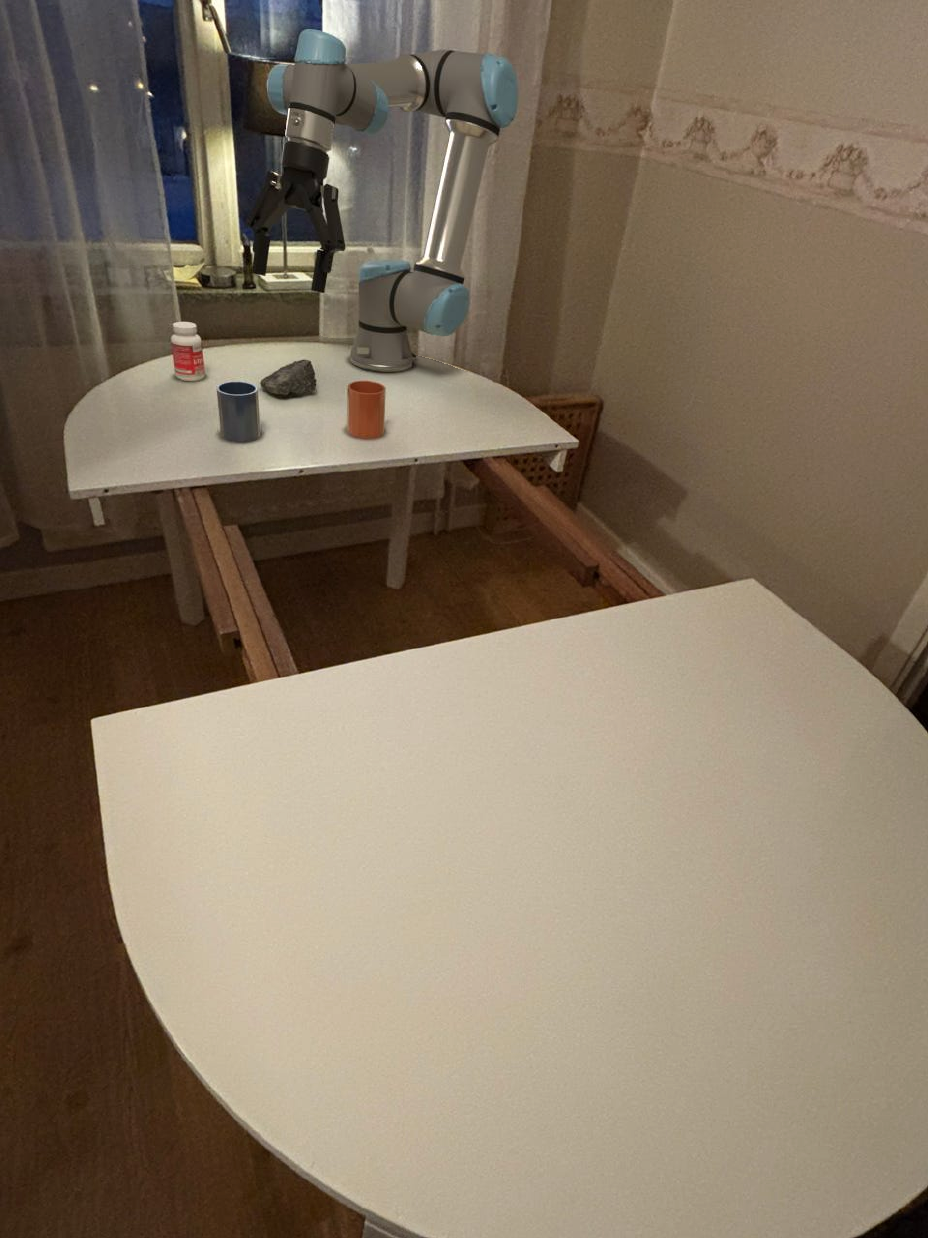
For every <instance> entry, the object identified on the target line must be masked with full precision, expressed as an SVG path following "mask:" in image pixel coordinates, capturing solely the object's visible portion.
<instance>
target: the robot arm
mask: <svg viewBox="0 0 928 1238" xmlns="http://www.w3.org/2000/svg"><path fill="white" fill-rule="evenodd" d="M295 50H296V51H295V56H294V59H293V60H294V63H293V64H292V63H287V64H283V63H282V64H280V63H279V64H276V65H274V66H273V68H271V70H270V71H269V73H268V77H267V80H266V88H267V90H266V92H267V97H268V100H269V103H270V104H271V106H272V109H274V110H275V111H276V112H278V113H279V114H282V115H286V116H287V118H286V119H287V120H286V126H285V127H286V129H285V138H287V140H286V141H284V143H283V145H282V146H283V148H282V153H281V162H280V163H281V166H282V169H283V170H282V174H279V173H276V172H274V171H272V170H268V171H266V175H265V179H264V184H263V186H262V188H261V190H260V192H259V194H258V196H257V198H256V200H255V202H254V204H253V206H252V207H251V210H250V212H249V214H248V215H247V218H246V220H245V225H246V227H249V228H250V229H251V230H252V231H253V240H252V248H251V250H252V252H253V259H252V268H251V274H253V275H257V276H262V277H266V274H267V267H268V261H269V252H270V244H271V239H272V238H271V236H270V234H269V232H270V231H271V230H272V228H274V226H275V225H276V224H277V223H278V222H279V221H280V220H281V218H282V217H283V216H284V215H285V214H286V213H287V212H288V210H291V209H292V208H293V209H298V210H303V211H306V213H307V214H308V216H309V218H310V221H311V224H312V225H313V228H314V231H315V234H316V236H317V239H318V241H319V245H320V247H319V249H318V248H317V249H316V256H315V263H314V268H313V275H312V280H311V288H310V291H313V292H317V293H321V294H325V292H326V286H327V279H328V274H330V273H331V271H332V269H333V268H332V267H333V263H334V262H333V261H334V256H335V254H336V253H337V252H345V250H346V249H347V248H346V241H345V236H344V230H343V225H342V219H341V214H340V207H339V195H340V194H339V191H340V190H339V188H338V187H337V186H334V185H331V184H329V183H325V184H324V180H326V179H327V176H328V170H329V164H330V156H329V154H328V152H330V151H331V150H332V146H333V139H334V131H335V125H340V126H346V127H350V128H353V129H354V130H355V131H356V132H358V133H362V134H365V135H370V136H371V135H375V134H378V132H380V131H381V130H382V129H383V128H384V126H385V124H386V123H387V120H388V116H389V109H395V108H396V109H397V108H398V109H399V110H401V111H402V112H406V113H413V112H418V113H424V114H426V115H427V114H428V115H432V116H436V117H440V118H445V119H444V125H445V127H446V130H447V132H448V140H447V145H446V149H445V153H444V158H443V162H442V163H443V164H442V168H441V172H440V177H439V180H438V186H437V190H436V194H435V201H434V205H433V208H432V214H431V219H430V223H429V228H428V232H427V235H426V241H425V245H424V250H423V255H422V256H421V258H419V259H418V260H416V261H415V262H414V264H413V269H412V267H411V263H410V261H408V260H400V259H379V260H378V259H377V260H376V259H375V260H370V261H365V262H364V263H362V265H361V266H360V269H359V278H358V279H359V280H358V325H357V327H358V328H357V331H356V334H355V337H354V340H353V342H352V346H351V349H350V353H349V354H350V358H349V359H350V363H351V364H353V366H355V367H357V368H361V369H364V370H367V371H372V372H379V373H397V372H405V371H407V370H408V369H409V370H410V368H411V367H412V366H413V361H414V360H413V359H416V358H417V355H416V354H415V353H413V352H412V348H411V344H410V341H409V336H408V328H410V329H413V330H416V331H420V332H422V333H423V332H424V333H426V334H427V335H431V336H439V337H448V336H451V335H453V334H454V333H456V331H457V330H458V329H460V327H461V326H462V325H463V323H464V321H465V319H466V317H467V314H468V311H469V308H470V298H469V297H470V292H469V290H468V288H467V287H466V286H465V285H464V282H465V279H466V275H465V274H464V273H463V270H462V268H461V267H462V263H463V259H464V258H463V257H464V253H465V249H466V244H467V241H468V237H469V232H470V228H471V223H472V221H473V215H474V211H475V208H476V202H477V200H478V199H477V198H478V194H479V190H480V186H481V182H482V177H483V173H484V168H485V164H486V160H487V157H488V152H489V148H490V146H491V145H493V144H494V143H496V142H497V141H498V140H499V136H500V133H501V132H500V131H501V129H505V128H508V127H510V125H511V124H512V122H514V120H515V117H516V114H517V111H518V105H519V83H518V79H517V73H516V70H515V69H514V66H513V64H512V63H511V61H509V59H507V58H505V57H504V56H497V55H493V54H492V53H477V52H470V51H469V52H468V51H461V50H460V51H459V50H453V49H438V50H432V51H431V50H430V51H425V52H418V53H410V54H401V55H399V56H398V57H396V59H394V61H380V62H379V61H377V62H376V61H375V62H358V63H346V62H347V57H346V54H347V48H346V45H345V43H344V42H343V41H342V40H341V39H340V38H338V37H336V36H335V35H333V34H330V33H329V32H325V31H323V30H319V29H313V28H306V29H304V30H302V31H300V34H299V36H298V42H297V46H296V49H295ZM321 198H322V203H323V206H322V203H321V201H320V199H321ZM323 208H324V209H323ZM324 214H325V215H324Z"/></svg>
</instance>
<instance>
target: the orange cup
mask: <svg viewBox="0 0 928 1238" xmlns="http://www.w3.org/2000/svg"><path fill="white" fill-rule="evenodd" d="M346 389H347V391H346V392H347V394H346V395H347V396H346V397H347V398H346V431H347V433H348V435H350V436H352V437H354V438H358V439H363V440H372V439H378V438H380V437H383V435H384V431H385V417H386V393H387V391H386V386H385V385H383V384H382V383H379V382H377V381H376V382H375V381H373V380H372V381H371V380H357V381H352V382H349V383H348V384H347V388H346Z"/></svg>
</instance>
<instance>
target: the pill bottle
mask: <svg viewBox="0 0 928 1238" xmlns="http://www.w3.org/2000/svg"><path fill="white" fill-rule="evenodd" d="M172 331H173V332H174V334H172V335H171V337H170V343H171V344H170V345H171V351H172V361H173V369H174V375H175V377H176V378H177V379H178V380H181V381H185V382H186V381H187V382H196V381H201V380H203V379H204V378H205V377H206V372H205V362H204V351H203V343H202V337H201V336H200V335H198V334H197V332H198V327H197V323H194V322H190V321H177V322H174V323H172Z"/></svg>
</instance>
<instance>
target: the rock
mask: <svg viewBox="0 0 928 1238" xmlns="http://www.w3.org/2000/svg"><path fill="white" fill-rule="evenodd" d="M260 387H261V388H262V389H264V390H268V391H269V392H270V393H271V394H275V395H276V394H277V395H280V394H281V395H283V396H287V395H289V394H290V393H292V394H294V395H300V394H303V393H309V392H315V391H316V388H317V379H316V372H315V369H314V367H313V364H312V361H311V360H309V359H300V360H294V361H293V362H292V363H288V364H286V365H284V366H282V367H280V368H278V369H277V370H275V371H273V372H272V373H271V374H269V375H268V376H265V377H264V378H262V379H261V380H260Z"/></svg>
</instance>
